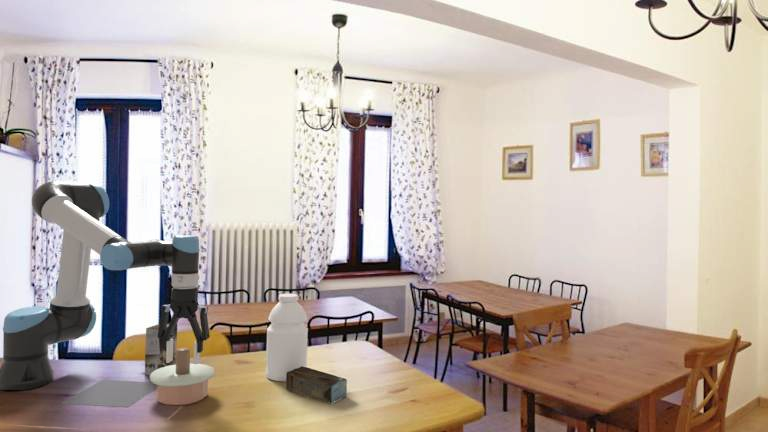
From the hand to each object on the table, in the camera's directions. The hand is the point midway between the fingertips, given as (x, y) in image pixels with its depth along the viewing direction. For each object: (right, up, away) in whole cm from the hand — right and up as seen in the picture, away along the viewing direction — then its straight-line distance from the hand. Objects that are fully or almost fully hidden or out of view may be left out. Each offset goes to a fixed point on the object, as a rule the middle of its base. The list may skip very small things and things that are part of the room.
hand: (183, 362), depth 154 cm
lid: (0, -4, 0) cm, 4 cm away
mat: (-21, -10, +1) cm, 24 cm away
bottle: (+27, -11, +23) cm, 37 cm away
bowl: (0, -11, 0) cm, 11 cm away
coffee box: (-16, -10, +22) cm, 29 cm away
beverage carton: (+39, -12, +7) cm, 42 cm away
